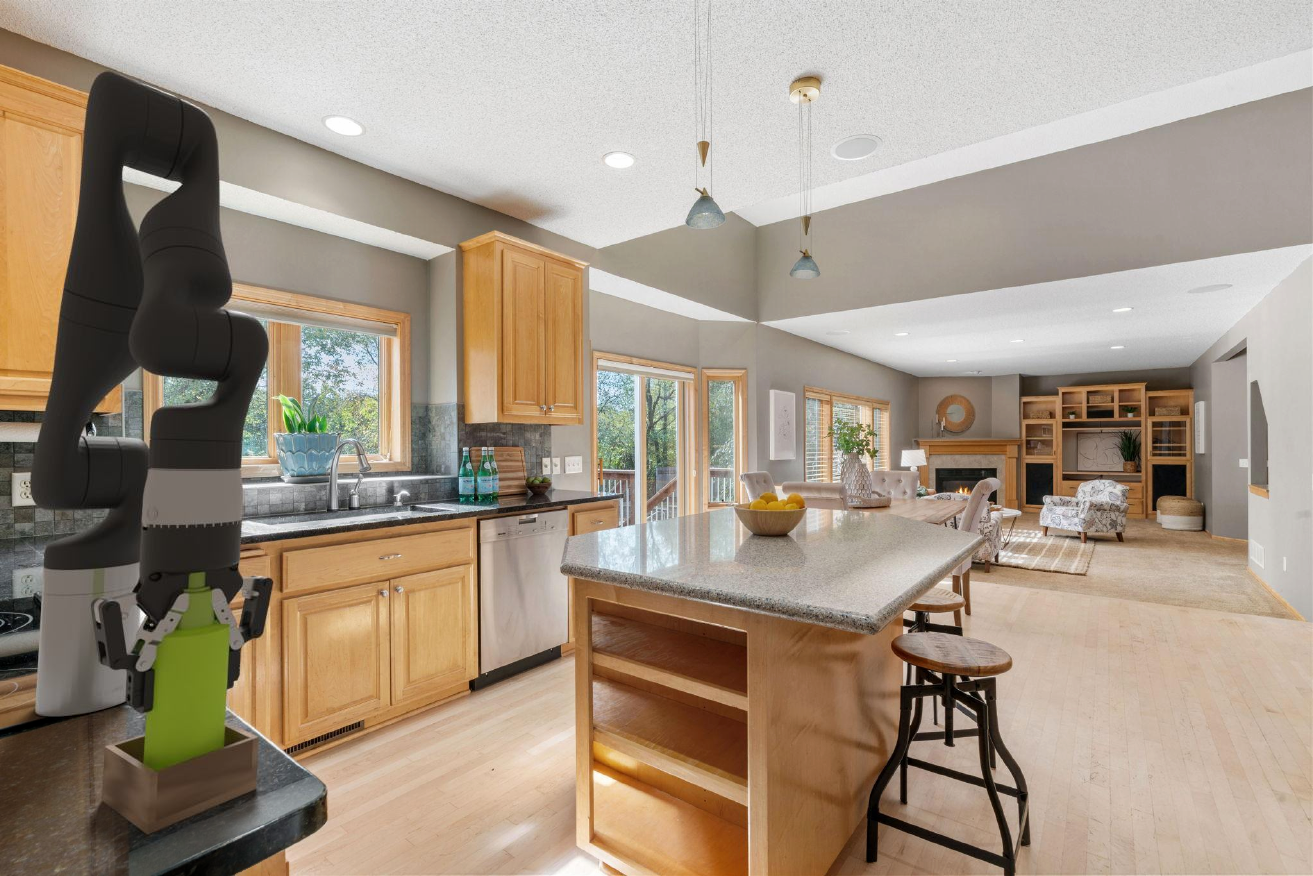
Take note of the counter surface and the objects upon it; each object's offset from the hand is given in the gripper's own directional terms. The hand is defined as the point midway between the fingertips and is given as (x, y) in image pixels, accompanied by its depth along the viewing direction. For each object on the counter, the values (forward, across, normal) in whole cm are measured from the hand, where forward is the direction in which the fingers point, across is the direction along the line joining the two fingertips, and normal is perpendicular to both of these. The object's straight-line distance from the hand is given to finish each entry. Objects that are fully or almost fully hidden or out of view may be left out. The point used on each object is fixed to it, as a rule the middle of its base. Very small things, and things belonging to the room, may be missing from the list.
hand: (185, 698), depth 57 cm
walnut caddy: (+9, 0, 0) cm, 9 cm away
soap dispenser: (+7, 0, 0) cm, 7 cm away
